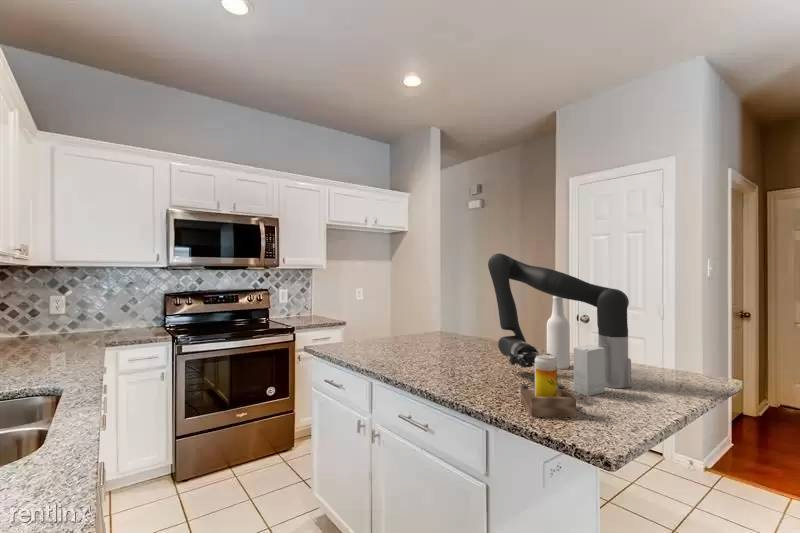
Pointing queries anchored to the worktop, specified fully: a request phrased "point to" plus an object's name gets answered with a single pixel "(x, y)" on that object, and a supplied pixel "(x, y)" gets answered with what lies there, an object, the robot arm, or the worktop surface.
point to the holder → (549, 403)
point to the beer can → (545, 376)
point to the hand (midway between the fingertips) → (538, 364)
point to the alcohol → (559, 335)
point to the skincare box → (589, 370)
